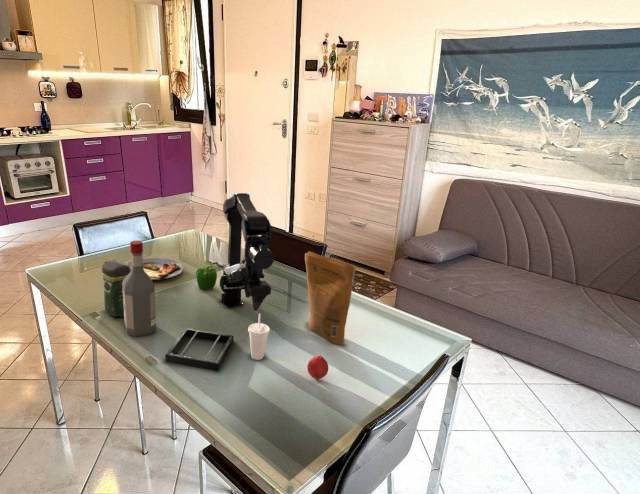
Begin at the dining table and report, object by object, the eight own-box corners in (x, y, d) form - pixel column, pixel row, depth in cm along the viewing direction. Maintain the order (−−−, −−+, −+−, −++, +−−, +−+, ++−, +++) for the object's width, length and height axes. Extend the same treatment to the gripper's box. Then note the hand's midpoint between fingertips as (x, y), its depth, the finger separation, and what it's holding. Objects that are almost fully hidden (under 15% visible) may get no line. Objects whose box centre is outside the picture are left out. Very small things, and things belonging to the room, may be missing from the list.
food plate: (194, 271, 191) (194, 264, 190) (156, 288, 172) (156, 280, 171) (152, 258, 203) (152, 251, 202) (113, 273, 185) (112, 265, 183)
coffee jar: (136, 313, 153) (133, 263, 147) (115, 320, 148) (111, 269, 141) (121, 303, 159) (118, 255, 153) (101, 310, 154) (97, 261, 147)
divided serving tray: (185, 334, 141) (185, 327, 140) (233, 342, 138) (233, 335, 137) (165, 361, 127) (165, 354, 126) (218, 371, 124) (218, 363, 123)
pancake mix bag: (337, 351, 137) (348, 268, 127) (296, 325, 151) (303, 248, 141) (352, 344, 141) (363, 263, 131) (310, 320, 155) (318, 245, 145)
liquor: (128, 338, 137) (122, 248, 127) (124, 324, 145) (118, 239, 135) (157, 333, 141) (154, 245, 131) (151, 320, 149) (148, 236, 138)
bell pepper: (191, 289, 173) (191, 266, 170) (201, 282, 180) (201, 259, 177) (210, 294, 170) (210, 270, 167) (219, 286, 178) (220, 263, 174)
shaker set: (231, 267, 198) (232, 244, 194) (224, 269, 195) (224, 245, 191) (215, 259, 206) (215, 237, 202) (207, 261, 203) (208, 238, 199)
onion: (304, 372, 125) (307, 348, 122) (324, 372, 126) (327, 348, 123) (308, 385, 120) (311, 360, 117) (329, 385, 120) (332, 360, 117)
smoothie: (266, 350, 135) (268, 309, 130) (269, 361, 129) (272, 320, 124) (245, 350, 134) (247, 310, 129) (248, 362, 128) (250, 320, 123)
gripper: (221, 247, 136) (220, 292, 142) (234, 269, 120) (232, 320, 125) (255, 246, 139) (253, 290, 145) (273, 267, 123) (269, 317, 128)
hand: (251, 303), depth 136 cm, fingers open, 9 cm apart
